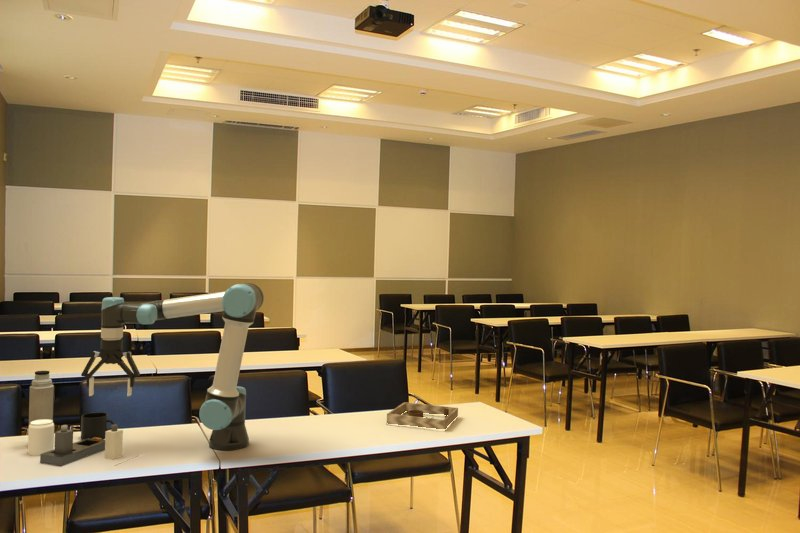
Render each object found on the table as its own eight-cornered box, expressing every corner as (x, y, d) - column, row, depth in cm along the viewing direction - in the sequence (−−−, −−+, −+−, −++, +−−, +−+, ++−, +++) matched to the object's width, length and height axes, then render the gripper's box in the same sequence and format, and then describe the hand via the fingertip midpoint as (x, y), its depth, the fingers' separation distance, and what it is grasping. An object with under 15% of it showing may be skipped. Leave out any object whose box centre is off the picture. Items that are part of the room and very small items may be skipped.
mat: (138, 456, 232) (138, 455, 232) (114, 466, 221) (114, 465, 221) (112, 452, 236) (112, 451, 236) (87, 462, 224) (87, 461, 224)
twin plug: (72, 458, 224) (73, 424, 224) (63, 462, 221) (64, 427, 220) (63, 457, 226) (64, 423, 225) (54, 460, 222) (55, 426, 222)
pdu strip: (89, 448, 240) (89, 435, 240) (108, 451, 237) (109, 438, 237) (40, 465, 219) (40, 452, 219) (60, 469, 216) (60, 455, 216)
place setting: (410, 416, 308) (410, 404, 308) (449, 421, 301) (450, 408, 301) (397, 424, 292) (397, 411, 292) (438, 430, 284) (439, 417, 284)
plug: (122, 457, 229) (122, 424, 229) (113, 460, 226) (114, 427, 225) (113, 456, 231) (113, 423, 230) (104, 459, 227) (105, 425, 227)
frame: (457, 418, 305) (458, 407, 305) (444, 431, 280) (444, 420, 280) (403, 412, 313) (404, 402, 313) (386, 424, 288) (387, 413, 288)
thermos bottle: (41, 440, 247) (43, 368, 247) (57, 443, 245) (59, 370, 244) (23, 446, 240) (25, 371, 239) (39, 448, 237) (41, 373, 237)
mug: (111, 440, 251) (112, 417, 251) (78, 441, 248) (78, 418, 248) (115, 433, 260) (116, 411, 260) (83, 434, 257) (84, 412, 257)
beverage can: (34, 451, 234) (35, 418, 234) (57, 451, 235) (58, 419, 235) (23, 458, 226) (24, 424, 226) (47, 458, 227) (48, 424, 227)
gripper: (149, 338, 243) (147, 393, 243) (80, 336, 240) (78, 393, 240) (143, 340, 235) (142, 397, 236) (72, 339, 232) (71, 397, 233)
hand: (110, 395), depth 238 cm, fingers open, 13 cm apart
